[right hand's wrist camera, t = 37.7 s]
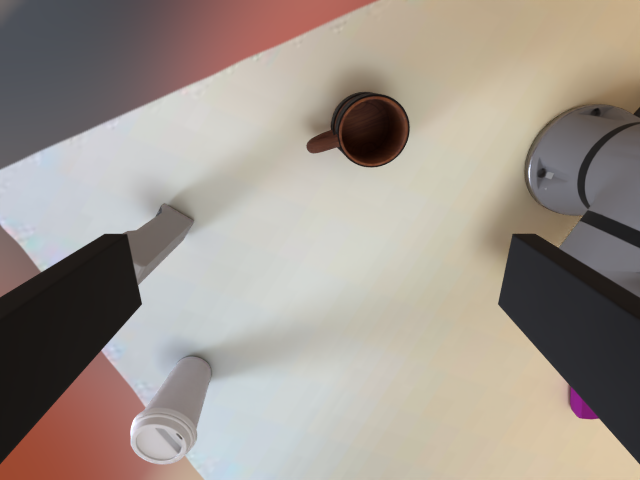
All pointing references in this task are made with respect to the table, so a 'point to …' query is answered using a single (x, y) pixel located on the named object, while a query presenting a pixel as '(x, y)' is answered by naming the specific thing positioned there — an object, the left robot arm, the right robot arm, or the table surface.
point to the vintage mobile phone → (157, 240)
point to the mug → (366, 130)
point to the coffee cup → (172, 414)
